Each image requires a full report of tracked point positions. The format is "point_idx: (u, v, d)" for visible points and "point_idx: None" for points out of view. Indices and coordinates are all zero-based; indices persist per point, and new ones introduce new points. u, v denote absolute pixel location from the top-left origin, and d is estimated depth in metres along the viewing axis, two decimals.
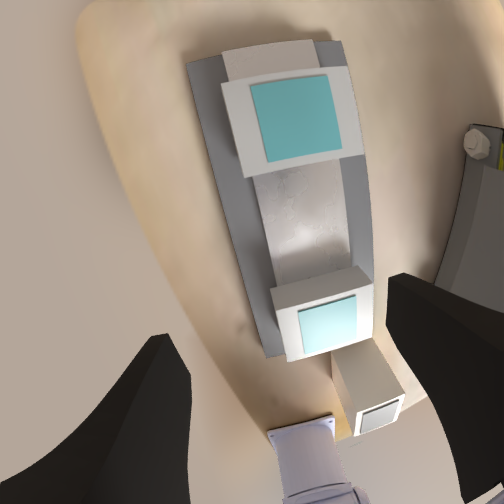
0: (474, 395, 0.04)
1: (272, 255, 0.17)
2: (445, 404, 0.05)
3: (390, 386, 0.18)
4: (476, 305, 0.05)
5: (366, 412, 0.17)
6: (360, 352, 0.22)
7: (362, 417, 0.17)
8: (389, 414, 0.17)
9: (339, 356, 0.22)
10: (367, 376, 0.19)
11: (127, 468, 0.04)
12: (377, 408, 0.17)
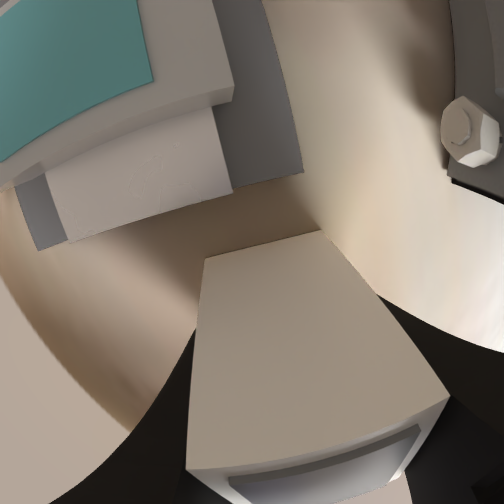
0: None
1: None
2: None
3: (378, 363, 0.04)
4: (431, 328, 0.05)
5: (247, 476, 0.03)
6: (282, 258, 0.08)
7: (241, 487, 0.04)
8: (373, 476, 0.04)
9: (218, 269, 0.08)
10: (285, 321, 0.06)
11: None
12: (305, 466, 0.03)
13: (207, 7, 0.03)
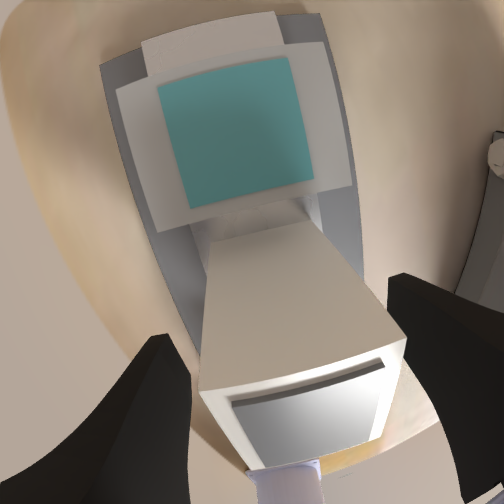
0: (474, 395, 0.04)
1: None
2: (445, 404, 0.05)
3: (349, 313, 0.06)
4: (476, 305, 0.05)
5: (246, 402, 0.05)
6: (276, 242, 0.10)
7: (241, 418, 0.05)
8: (352, 419, 0.05)
9: (222, 250, 0.10)
10: (277, 285, 0.07)
11: (127, 468, 0.04)
12: (292, 391, 0.05)
13: None
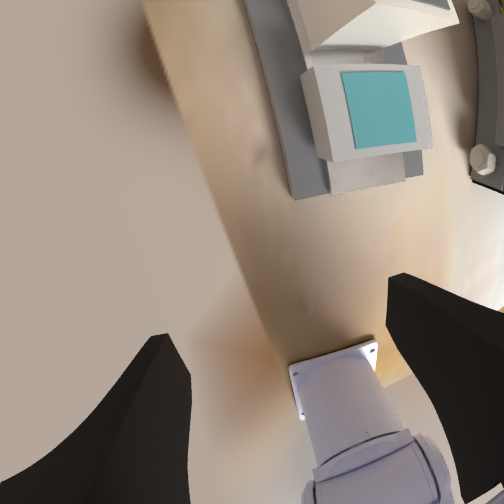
0: (474, 395, 0.04)
1: (300, 37, 0.11)
2: (445, 404, 0.05)
3: None
4: (476, 305, 0.05)
5: None
6: None
7: None
8: None
9: None
10: None
11: (127, 468, 0.04)
12: None
13: (428, 119, 0.11)
